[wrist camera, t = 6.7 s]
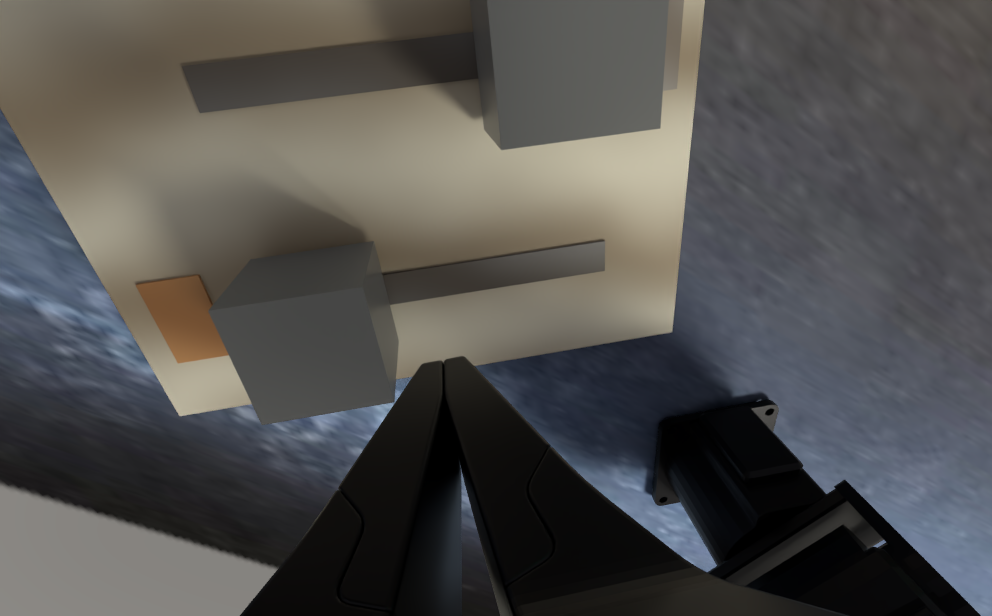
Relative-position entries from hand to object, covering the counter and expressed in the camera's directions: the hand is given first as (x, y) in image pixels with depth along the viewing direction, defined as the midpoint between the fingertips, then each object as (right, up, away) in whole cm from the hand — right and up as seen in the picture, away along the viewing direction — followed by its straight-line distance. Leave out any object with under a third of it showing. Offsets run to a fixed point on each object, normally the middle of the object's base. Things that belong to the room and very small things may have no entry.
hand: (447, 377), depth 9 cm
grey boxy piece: (-5, +2, +7) cm, 9 cm away
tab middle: (+2, +9, +4) cm, 10 cm away
